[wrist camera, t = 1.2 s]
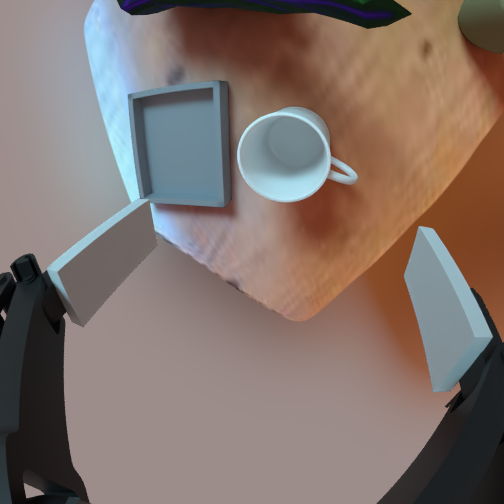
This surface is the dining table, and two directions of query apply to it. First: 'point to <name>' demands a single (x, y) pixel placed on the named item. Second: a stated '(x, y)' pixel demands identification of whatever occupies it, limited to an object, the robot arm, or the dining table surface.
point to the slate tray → (182, 144)
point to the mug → (289, 155)
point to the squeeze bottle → (483, 23)
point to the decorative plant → (288, 8)
